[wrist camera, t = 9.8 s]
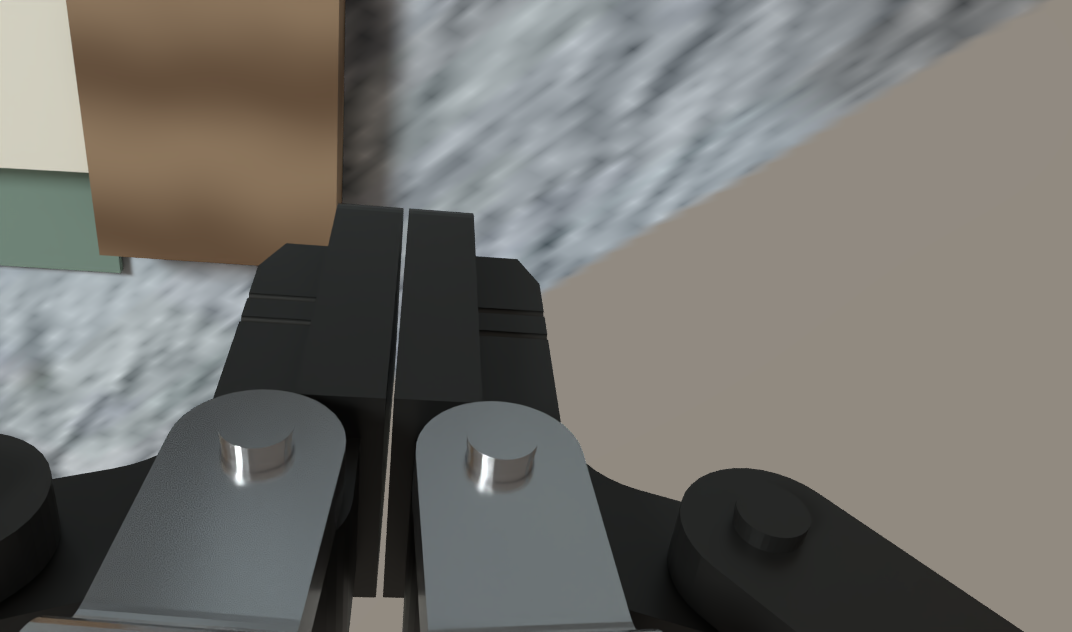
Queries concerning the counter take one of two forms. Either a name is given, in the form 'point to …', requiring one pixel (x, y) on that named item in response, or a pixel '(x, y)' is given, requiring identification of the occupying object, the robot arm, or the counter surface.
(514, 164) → the counter surface
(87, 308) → the counter surface
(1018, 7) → the counter surface
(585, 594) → the robot arm
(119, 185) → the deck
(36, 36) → the cream flat block
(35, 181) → the mat
